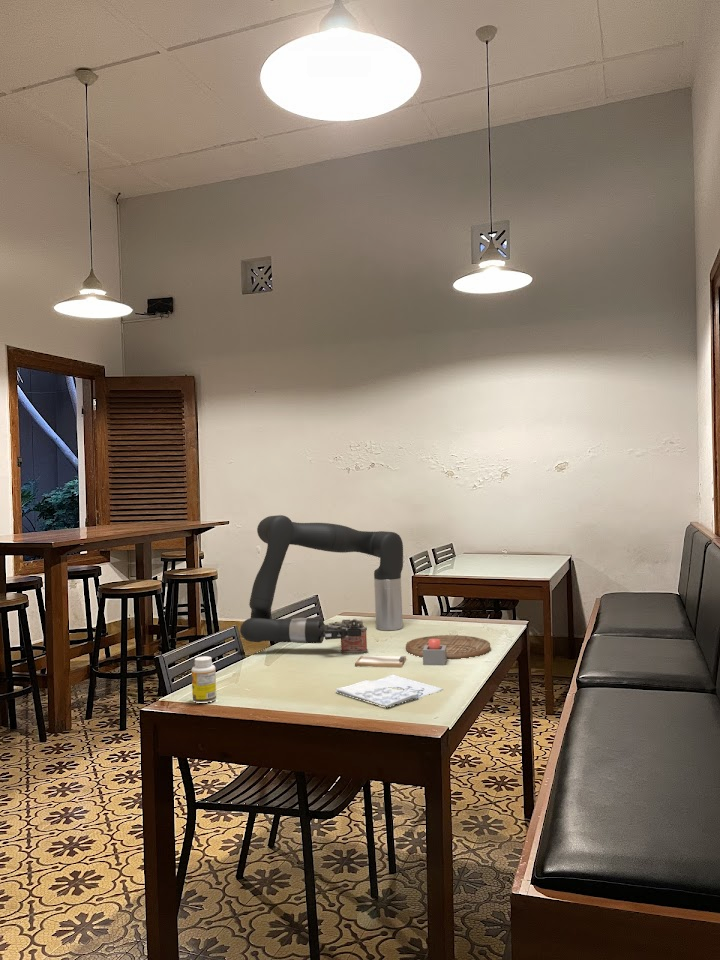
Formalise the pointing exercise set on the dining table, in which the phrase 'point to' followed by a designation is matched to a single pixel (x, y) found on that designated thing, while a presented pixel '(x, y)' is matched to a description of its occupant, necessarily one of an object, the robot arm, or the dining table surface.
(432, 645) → the button
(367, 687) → the folded patterned cloth
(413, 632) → the dining table surface
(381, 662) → the clipboard
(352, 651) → the lighter
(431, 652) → the button box
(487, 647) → the trivet
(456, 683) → the dining table surface
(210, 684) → the supplement bottle
